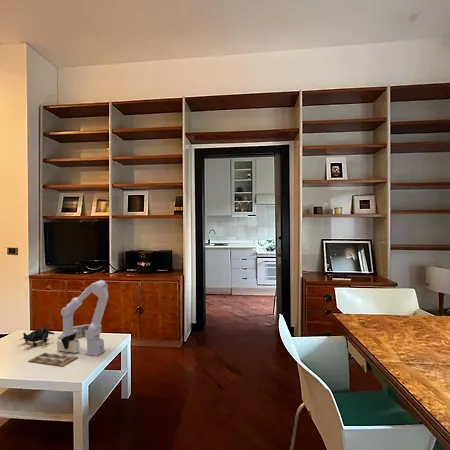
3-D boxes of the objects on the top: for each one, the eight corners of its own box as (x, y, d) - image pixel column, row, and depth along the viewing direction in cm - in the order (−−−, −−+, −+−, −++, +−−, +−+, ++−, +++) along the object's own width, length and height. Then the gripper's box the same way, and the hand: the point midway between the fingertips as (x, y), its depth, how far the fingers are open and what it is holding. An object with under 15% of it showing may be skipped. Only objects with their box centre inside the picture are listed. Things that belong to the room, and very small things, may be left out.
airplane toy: (38, 351, 211) (37, 326, 211) (11, 349, 215) (10, 325, 215) (59, 339, 231) (59, 317, 231) (34, 338, 235) (34, 316, 234)
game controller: (62, 341, 229) (62, 328, 229) (62, 340, 231) (62, 327, 231) (93, 335, 240) (93, 323, 240) (92, 334, 242) (92, 323, 241)
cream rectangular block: (79, 351, 209) (79, 338, 209) (76, 352, 206) (75, 340, 206) (60, 348, 213) (60, 336, 213) (57, 350, 210) (57, 338, 210)
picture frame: (77, 358, 199) (77, 354, 199) (62, 366, 188) (62, 362, 188) (44, 354, 206) (44, 350, 206) (28, 361, 195) (28, 357, 195)
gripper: (71, 321, 218) (71, 342, 218) (53, 328, 204) (54, 351, 204) (80, 322, 216) (80, 344, 216) (63, 329, 202) (63, 352, 202)
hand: (68, 347), depth 210 cm, fingers closed on cream rectangular block, 3 cm apart
